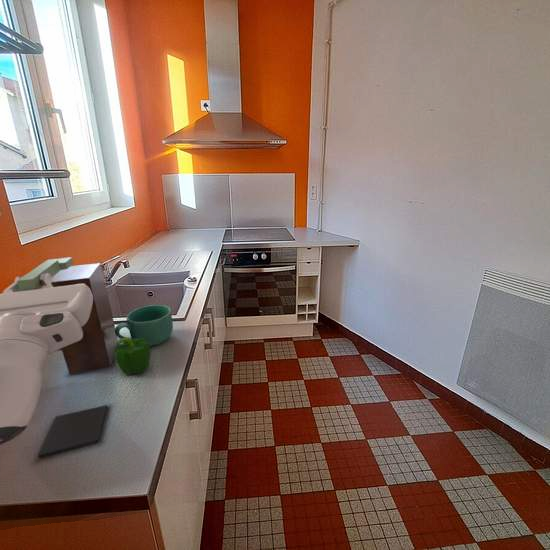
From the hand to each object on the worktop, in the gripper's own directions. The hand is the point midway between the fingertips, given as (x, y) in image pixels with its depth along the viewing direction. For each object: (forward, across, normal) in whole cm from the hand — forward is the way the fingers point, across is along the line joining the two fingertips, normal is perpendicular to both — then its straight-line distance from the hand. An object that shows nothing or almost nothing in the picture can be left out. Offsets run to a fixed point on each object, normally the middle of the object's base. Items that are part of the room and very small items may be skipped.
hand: (34, 277), depth 58 cm
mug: (+6, +14, -40) cm, 43 cm away
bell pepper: (-6, +12, -33) cm, 36 cm away
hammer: (+4, 0, -4) cm, 6 cm away
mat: (-22, +2, -24) cm, 33 cm away
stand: (+3, 0, -38) cm, 39 cm away
